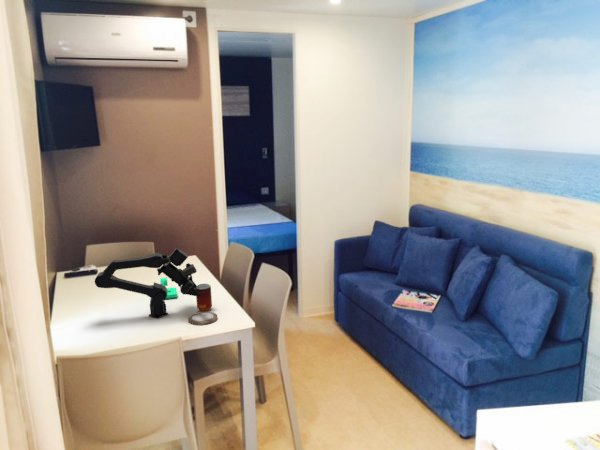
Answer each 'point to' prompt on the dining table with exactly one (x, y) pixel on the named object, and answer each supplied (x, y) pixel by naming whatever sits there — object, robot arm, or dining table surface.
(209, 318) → the brown rimmed plate
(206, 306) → the soda can
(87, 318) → the dining table surface
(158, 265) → the robot arm
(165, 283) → the camera mount
